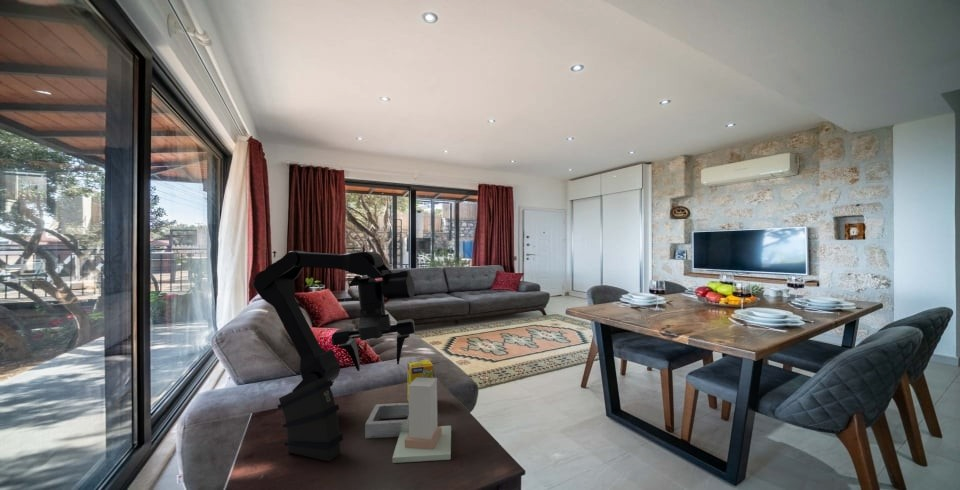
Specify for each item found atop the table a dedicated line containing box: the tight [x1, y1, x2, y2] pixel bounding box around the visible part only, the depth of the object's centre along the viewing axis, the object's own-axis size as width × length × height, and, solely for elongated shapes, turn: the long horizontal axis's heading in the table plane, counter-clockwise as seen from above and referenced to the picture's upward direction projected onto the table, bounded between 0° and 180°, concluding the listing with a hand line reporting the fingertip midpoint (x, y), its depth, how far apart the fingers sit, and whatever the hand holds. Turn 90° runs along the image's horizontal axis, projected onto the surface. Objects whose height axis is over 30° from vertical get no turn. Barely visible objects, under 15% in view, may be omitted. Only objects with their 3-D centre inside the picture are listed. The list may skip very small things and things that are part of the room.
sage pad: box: [392, 425, 452, 464], centre depth 70 cm, size 11×11×1 cm
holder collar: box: [364, 402, 409, 439], centre depth 79 cm, size 10×10×3 cm
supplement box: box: [406, 359, 434, 403], centre depth 90 cm, size 6×6×11 cm
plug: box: [405, 377, 442, 449], centre depth 70 cm, size 6×6×12 cm
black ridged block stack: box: [277, 376, 344, 462], centre depth 68 cm, size 4×13×15 cm, turn 71°
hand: (378, 367), depth 82 cm, fingers open, 9 cm apart
